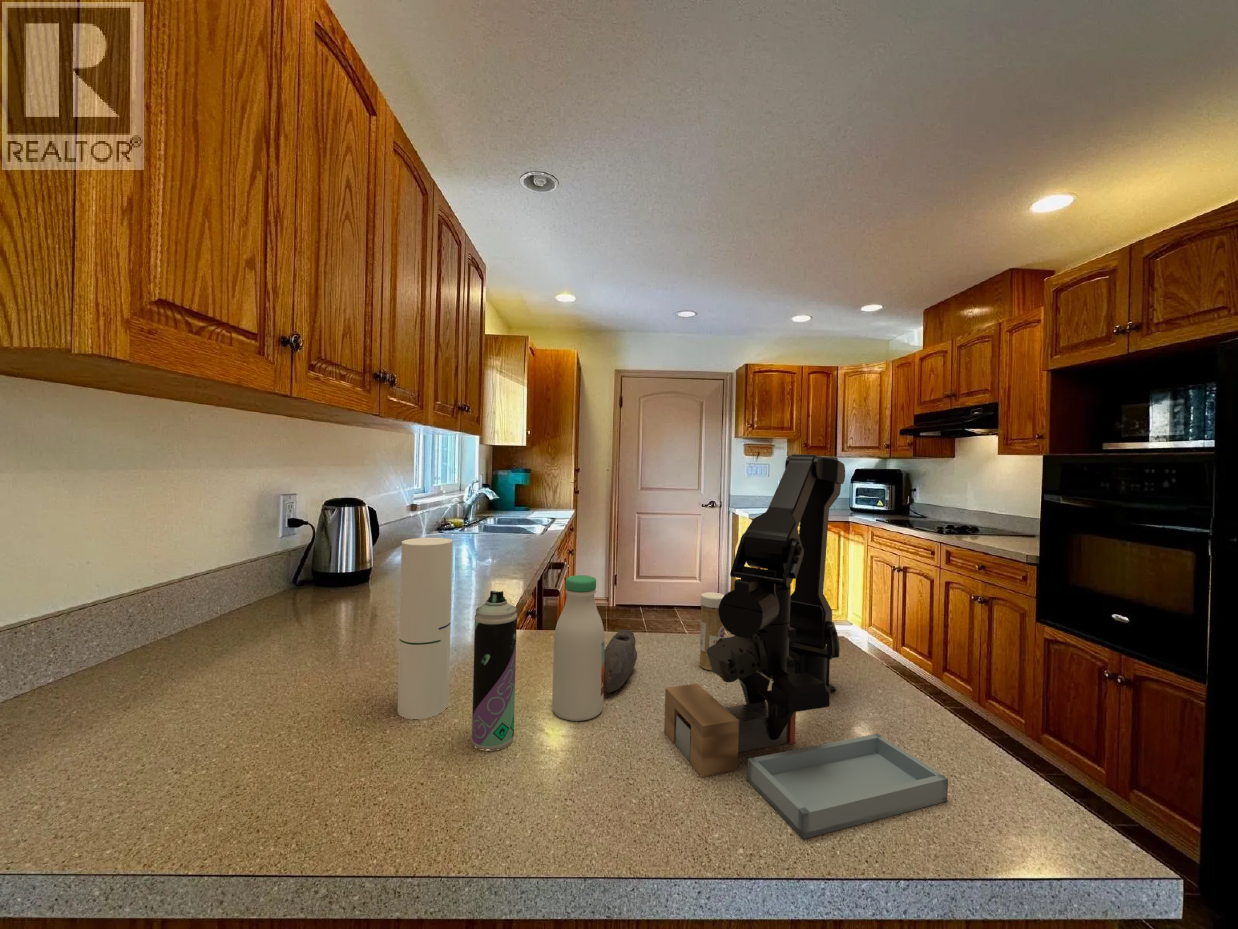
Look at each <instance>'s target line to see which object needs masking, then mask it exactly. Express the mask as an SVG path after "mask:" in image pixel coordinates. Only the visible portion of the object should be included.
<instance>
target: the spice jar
mask: <svg viewBox="0 0 1238 929" xmlns="http://www.w3.org/2000/svg"><path fill="white" fill-rule="evenodd" d="M724 595H725V594H723V593H718V592H712V591H711V592H710V591H708V592H703V593H701V594H700V605H701V606H700V607H701V610H700V611H701V612H700V616H701V617H700V627H699V628H700V629H699V630H700V632H699V633H700V634H699V635H700V636H699V649H700V650H699V651H700V652H699V656H700V657H699V662H698V663H699V667H700V668H702V669H704V670H707V671H711V672H713V671H712V668H711V664H710V661H709V658H708V655H707V649H708V648H709V647H711V646H712V645H714V644H716V643H717V641H718V640H719V639H720V638H725V627H724V626H723V624H722V622H721V620H720V617H719V611H718V608H719V605H720V602H721V599H722V598H723V597H724Z"/></svg>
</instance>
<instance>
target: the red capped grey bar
mask: <svg viewBox="0 0 1238 929" xmlns="http://www.w3.org/2000/svg"><path fill="white" fill-rule="evenodd" d="M724 708H726V709H727V710H728V711H729V712H730V713H731V714H732V715H733V716H735V717H736V718H737V719H738V720H739V735H738V753H741V752H748V751H752V750H757V749H762V748H767V747H768V746H769V747H773V746H779V745H784V744H788V745H795V744H796V723H797V719H796V718H797V717H796V716H797V712H794V713H793V715H792V716H791V718H790V720H789V721H788V723H787V725H786V726H785V728H784V730H783V732H782V733H781V735H780V737H779V738H778V739H776V740H772V739H770V734H769V721H768V703H767V701H766V700H765V702H758V703H752V704H746V703H745V704H740V705H731V706H724ZM690 744H691V725H690V724H689V723H688V722H687V721H686V719H685V718H684V717H683V716H682V715H681V714H680V715H676V743H675V746H676V747H677V748H678V749H679V751H680V752H681V753H682V754H683V756H684V757H685V758H686V759H687V761H688V762H689V763H690ZM769 747H768V748H769Z"/></svg>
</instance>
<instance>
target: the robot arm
mask: <svg viewBox="0 0 1238 929" xmlns="http://www.w3.org/2000/svg"><path fill="white" fill-rule="evenodd" d="M780 478H781V479H780V480H779V483H778V484H777V488H776V490H775V492H774V494H773V496H772V499H771V501H770V503H769V505H768V508H767V509H766V511H765V512H763V513H761V514H760V515H757V516H755V517H754V518H753V519H752V520H751V522H750V524H749V525H748V527H747V528H746V530H745V532H744V533H743V534H742V535H741V537H740V541H739V544H738V547H737V549H736V554H735V555H734V556H735V557H734V560H733V563H732V565H731V566H732V567H731V570H730V572H729V573H730V575H729V576H730V577H731V578H736V579H735V580H734V584H733V587H734V588H733V589H732V590H731V591H728V592H727V593H725V594H723V595H724V597H723V598H722V599H721V602H720V605H719V608H718V611H719V617H720V620H721V622H722V624H723V626H724V629H725V630H726V631H727V632H728V633H730V634H731V635H733V636H730V637H729V636H728V637H724V638H720V639H719V640H718V641H717V643H716V644H714V645H712V646H711V647H709V648H708V649H707V655H708V658H709V661H710V664H711V668H712V671H711V672H713V674H714V675H716V676H718V677H720V678H721V680H722V681H723V682H725V683H727V684H729V683H733V682H735V681H737V680H738V681H739V683H740V686H741V690H742V692H743V697H744V699H745V700H744V701H745V704H752V703H758V702H765V701H767V703H768V721H769V734H770V739H772V740H776V739H778V738H779V737H780V735H781V733H782V732H783V730H784V728H785V726H786V725H787V723H788V721H789V720H790V718H791V716H792V715H793V713H794V712H796V713H797V712H798V713H799V712H804V711H811V710H817V709H822V708H829V707H830V701H831V693H832V692H836V690H837V688H836V687H835V686H834V685H832V684H830V666H831V664H830V662H831V660H833V659H835V658H836V659H837V658H840V650H841V648H840V639H839V635H838V632H837V629H836V625H835V622H833V609H832V607H831V606H830V604H829V602H828V600H827V598H826V596H825V594H824V588H825V574H826V562H827V561H826V560H827V558H826V557H827V545H828V530H829V515H830V509H831V507H832V506H833V504H834V503H835V502H836V500H837V499H838V497H840V495H841V490H842V485H843V484H844V483H845V479H846V467H845V464H844V462H842V461H840V460H839V459H838V457H837V456H820V455H816V454H811V453H810V454H809V453H808V454H804V453H803V454H802V453H801V454H799V453H797V454H796V453H794V454H791V455H787V457H786V459H785V464H784V472H783V474H782V476H781V477H780ZM798 529H799V530H798ZM747 565H748V566H747ZM793 580H795V583H794V590H793V592H791V591H792V586H791V584H792V583H793ZM771 682H772V683H771ZM770 683H771V687H770V688H771V690H769V686H770Z"/></svg>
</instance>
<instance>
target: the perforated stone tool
mask: <svg viewBox="0 0 1238 929" xmlns="http://www.w3.org/2000/svg"><path fill="white" fill-rule="evenodd" d="M637 658H638V652H637V649H636V638H635V634H634V632H633V631H631V630H628V629H620V630H619V631H618V632H617V633H615V634H614V635H613V636H612V637H611V639H609V642H608V643H607V645H606V647H605V653H604V691H605V693H613V692H616V691H617V690H619V689H620V688H621V687H622V686H623V685H624V683H625V682H626V681H627V680H628V678H629V677H630V675H631V673H632V671H633V670H634V668H635V665H636V662H637V660H638V659H637Z"/></svg>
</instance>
